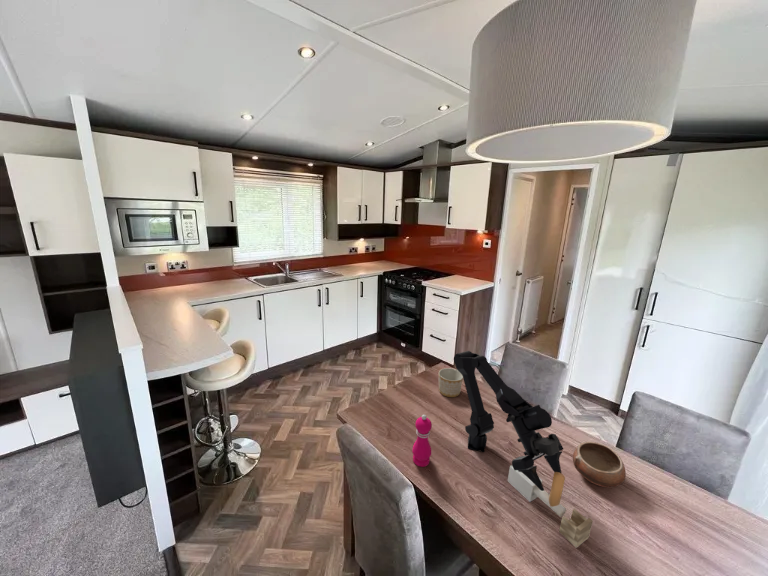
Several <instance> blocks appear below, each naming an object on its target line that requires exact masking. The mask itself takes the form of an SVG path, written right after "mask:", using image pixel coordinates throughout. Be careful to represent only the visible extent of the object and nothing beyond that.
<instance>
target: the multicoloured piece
mask: <svg viewBox="0 0 768 576" xmlns="http://www.w3.org/2000/svg"><path fill="white" fill-rule="evenodd" d="M565 479H566V477H565V475H564V474H562V472H561V473H560V472H555V473H553V476H552V481H551V485H550V492H549V493H548V492H547V491H546V489H544V491H541V490H540V489H539V488H538V487H537V486H534V487H533V493H534V494H535V495H536V496H538V497H537V498H538V499H540V501H542V502H543V503H544V504H545V505H546V506H547V507H548V508H550V509H551V511H552V512H554V513H555V514H556V515H557V516H558V517H560V518H561V517H564V516H565V514H566V510H567V508H566V507H565V506H563V505H562V504H561V500H562V493H563V489H564V485H565V481H566V480H565Z"/></svg>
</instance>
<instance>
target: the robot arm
mask: <svg viewBox="0 0 768 576" xmlns="http://www.w3.org/2000/svg"><path fill="white" fill-rule="evenodd" d="M453 362H454V365H455V368H456V370H458V371H459V372H460V373H461V374H462V376H463V382H464V386H465V390H466V394H467V398H468V401H469V406H470V409H471V414H470V417H469V421H470V424H468V425H465V427H464V428H465V432H466V433H467V434H468V438H467V449H470V450H472V451H473V450H474V451H477V452H482V453H484V452H485V451H486V450H485V448H487V442H488V441H487V440H488V437H487V436H488V435H487V434H488V433H490V432H493V430H494V428H495V427H494V426H495V422H494V419H493V414H492V413H491V412H490V413H489V412H488V411H487V410H486V409H485V406H484V402H483V400H482V399H483V398H482V395H481V391H480V388H479V385H478V381H477V377H476V373H475V372H476V370H477V371H478V372H479V374H480V375H481V376H482V378H483V379H484V380H485V382H486V383H487V385H488V386H489V387H490V388H491V390H492V391H493V393H494V394H495V398H496V402H497V404H498V406H499V407H500V409H501V411H502V412H503V413H505V414H507V417H506V423H511V424H512V425H513V428H514V430H515V433H516V435H517V436H518V438H517V439H516V440H517V442H518V443H521V444H522V447H523V449H524V450H525V451H524V452H522V453H523V455H522V456H518V457H516V458H514V459H512V461H511V465H512V466H513V468H514V470H518V472H522V473H523V474H524V475H525V476H527V477H528V478H529V479H530V480H531V481H532V482H533V483H534V484H535V485H536V486H537V487H538V488H539V489H540V490H541V491H544V490H545V488H544V486H543V482H542V483H541V481H540V479H541V478H540V477H539V474H538V472H537V465H535V461H536V460H538V459H539V458H542V457H543V458H544V459H545V460H546V462H547V464H548V465H549V466H550V468H551V470H552V471H553V472H554V473H555V472H560V473H562V468H561V463H560V457H561V455H562V453H563V450H564V447H563V445H562V444H561V442H560V441H561V440H560V439H559V437H558V436H557V434H555V433H550V434H548V436H545V437H543V436H542V434H541V433H540V432H539V431H538V430H543V429H547V428H550V427H552V424H553V421H552V420H553V419H552V416H551V415H550V413H549V412H548V411H547V410H546V409H544V408H541V406H540V404H536V405H534V406H533V405H532V404H530V403H529V402H528V401H527V400H525V399H524V398H523V397H522V396H521V395H520V394H519V393H518V392H517V391H516V390H515V389H513V388H512V387H509V386H508V385H507V384H506V382H504V380H503V379H502V378H501V377H500V376H499V374H498V373H497V371H496V370H495V369H494V368H493V367H492V366H491V364H490V363H489V361H488V359H487V357H486V356H485V355H481V354H479V353H476V352H475V353H474V352H472V351H470V350H466V351H461V352H458V353H455V355H454V356H453ZM537 431H538V432H537ZM554 473H553V474H554ZM539 478H540V479H539Z"/></svg>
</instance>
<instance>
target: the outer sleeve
mask: <svg viewBox="0 0 768 576" xmlns="http://www.w3.org/2000/svg"><path fill="white" fill-rule="evenodd" d="M508 469H509V470H508V476H507V482H508V483H509V484H510V485H511V486H512V487H514V489H515V490H516V491H518V493H520V495H521V496H523V497H524V498H525V499H526V500H527V501H528V502H529V503H531V502H532V501H534V500H536V499H537V498H539V497H538V496H536V495H535V494H534V493H533V487H534V486H536V485H535V484H534V483H533V482H532V481H531V480H530V479H529V478H528V477H527V476H525V475H524V474H523V473H522V472H518V470H514V468H513V466H512V464H511V465H510V466H509V468H508ZM539 479H540V481H541V483H542V484H543V479H542V478H540V477H539Z"/></svg>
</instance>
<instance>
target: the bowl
mask: <svg viewBox="0 0 768 576" xmlns="http://www.w3.org/2000/svg"><path fill="white" fill-rule="evenodd" d="M572 463H573V466H574V468H575V469H576V471H577V472H578V473H579V475H581V476H582V477H583V478H584V479H586V480H587V481H589V482H590V483H592V484H594V485H596V486H599V487H603V488H615V487H618V486H620V485H621V484H623V483H624V481H625V479H626V475H627V473H626V472H627V471H626V467H625V464H624V462H623V460H622V458H621V457H620V456H619V454H618V453H617V452H616V451H615V450H613V448H611V447H609V446H607V445H605V444H603V443H599V442H594V441H584V442H582V443H580V444H579V445H577V446H576V448H575V449H574V451H573V454H572Z"/></svg>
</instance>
